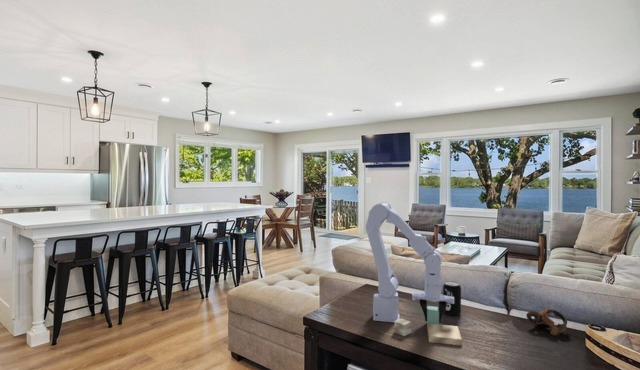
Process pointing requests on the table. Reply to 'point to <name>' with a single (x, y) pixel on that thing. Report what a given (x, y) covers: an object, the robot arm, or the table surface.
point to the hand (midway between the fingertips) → (432, 320)
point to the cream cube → (402, 327)
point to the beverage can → (454, 291)
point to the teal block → (432, 315)
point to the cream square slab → (444, 334)
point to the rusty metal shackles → (548, 320)
